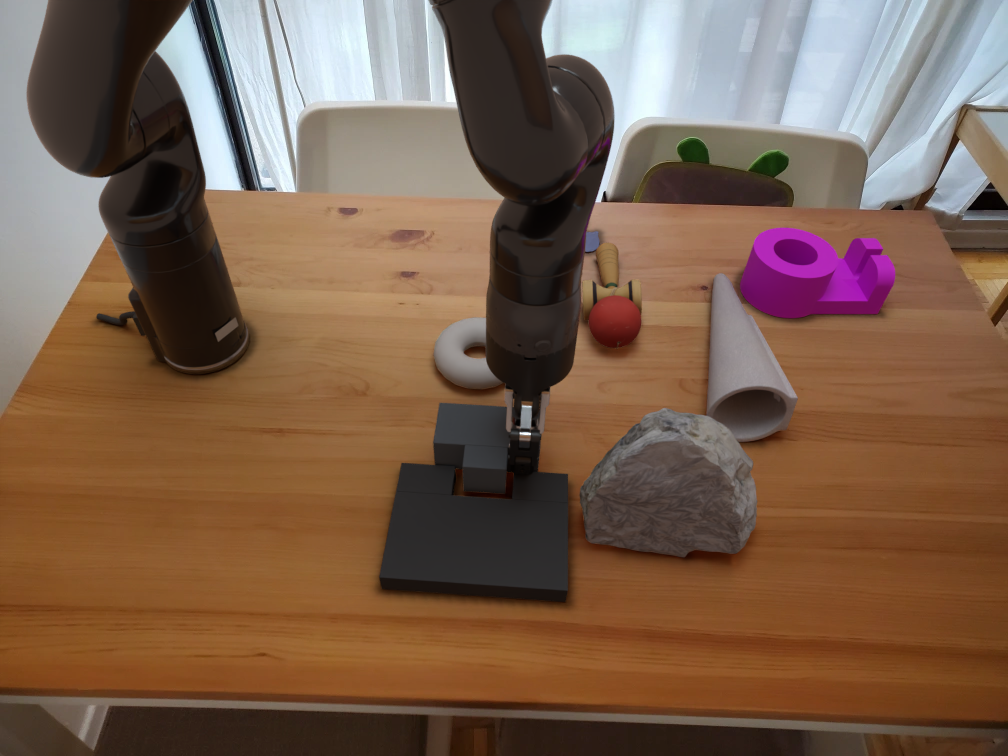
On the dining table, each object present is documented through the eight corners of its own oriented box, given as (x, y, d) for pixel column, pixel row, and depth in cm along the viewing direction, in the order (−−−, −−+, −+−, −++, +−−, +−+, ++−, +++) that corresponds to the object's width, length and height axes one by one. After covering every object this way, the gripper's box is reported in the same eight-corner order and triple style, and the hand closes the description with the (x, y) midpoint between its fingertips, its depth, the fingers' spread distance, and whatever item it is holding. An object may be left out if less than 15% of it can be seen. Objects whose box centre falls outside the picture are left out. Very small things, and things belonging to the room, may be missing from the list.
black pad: (381, 589, 62) (378, 577, 61) (403, 475, 71) (401, 462, 69) (565, 602, 62) (567, 590, 60) (566, 486, 70) (568, 473, 69)
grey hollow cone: (664, 249, 89) (714, 386, 69) (734, 248, 89) (803, 385, 70) (655, 301, 94) (700, 442, 74) (721, 300, 94) (783, 442, 75)
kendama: (569, 269, 95) (574, 351, 81) (582, 226, 91) (590, 305, 77) (625, 280, 96) (640, 363, 82) (640, 239, 92) (659, 319, 78)
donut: (423, 388, 79) (513, 402, 77) (421, 366, 76) (514, 380, 75) (446, 327, 85) (529, 339, 84) (445, 305, 83) (530, 317, 82)
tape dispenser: (751, 318, 88) (766, 277, 83) (731, 267, 94) (744, 227, 90) (879, 318, 88) (902, 278, 84) (851, 267, 95) (870, 228, 90)
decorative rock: (572, 548, 66) (591, 447, 55) (577, 487, 70) (595, 384, 59) (754, 573, 64) (811, 475, 53) (747, 510, 69) (798, 408, 58)
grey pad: (431, 489, 68) (429, 464, 65) (441, 427, 73) (439, 402, 70) (537, 496, 68) (539, 471, 65) (539, 434, 73) (541, 408, 70)
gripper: (492, 261, 63) (490, 391, 76) (478, 382, 53) (478, 507, 66) (578, 266, 63) (562, 395, 75) (579, 388, 53) (560, 513, 66)
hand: (523, 447), depth 70 cm, fingers closed on grey pad, 5 cm apart
